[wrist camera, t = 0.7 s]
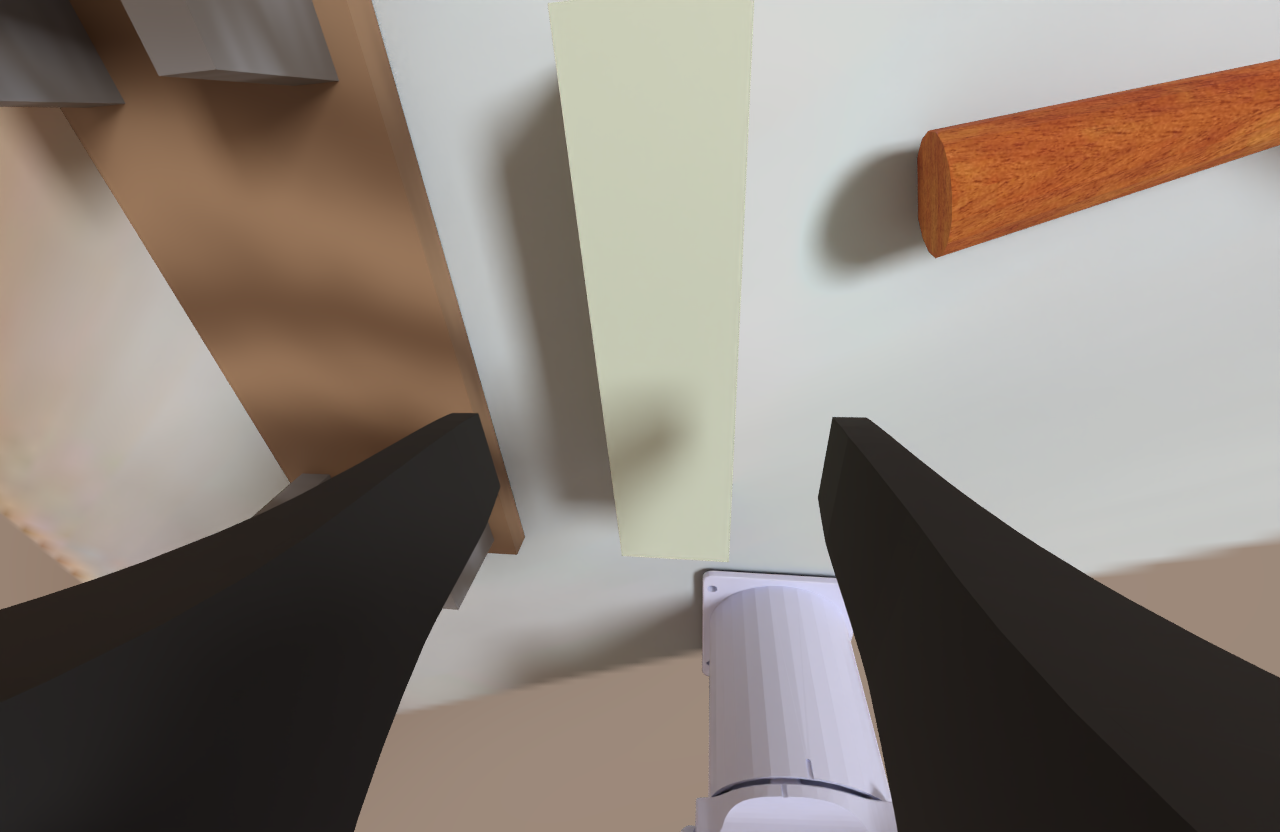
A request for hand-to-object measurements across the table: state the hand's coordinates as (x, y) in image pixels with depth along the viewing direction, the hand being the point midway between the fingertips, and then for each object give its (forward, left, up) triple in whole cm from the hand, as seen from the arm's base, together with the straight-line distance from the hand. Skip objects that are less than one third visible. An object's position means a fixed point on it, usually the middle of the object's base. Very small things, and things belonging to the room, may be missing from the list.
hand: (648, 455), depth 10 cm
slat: (0, 0, -9) cm, 9 cm away
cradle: (0, +14, -9) cm, 17 cm away
